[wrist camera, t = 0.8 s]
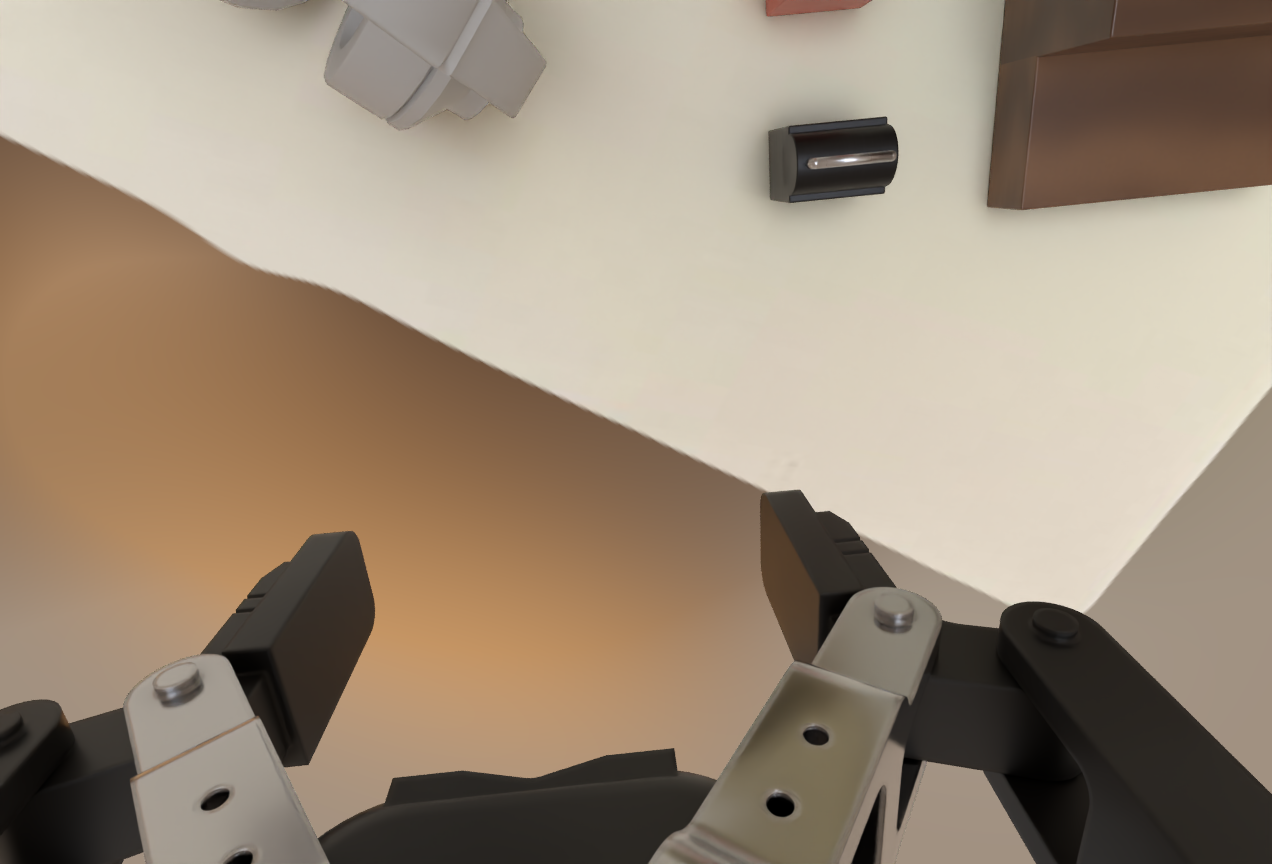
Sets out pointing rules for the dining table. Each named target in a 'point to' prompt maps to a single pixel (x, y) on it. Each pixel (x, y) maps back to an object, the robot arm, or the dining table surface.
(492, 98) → the headphones
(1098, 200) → the wooden step stairs
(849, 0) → the red lunch box
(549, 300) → the dining table surface
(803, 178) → the black lunch box
